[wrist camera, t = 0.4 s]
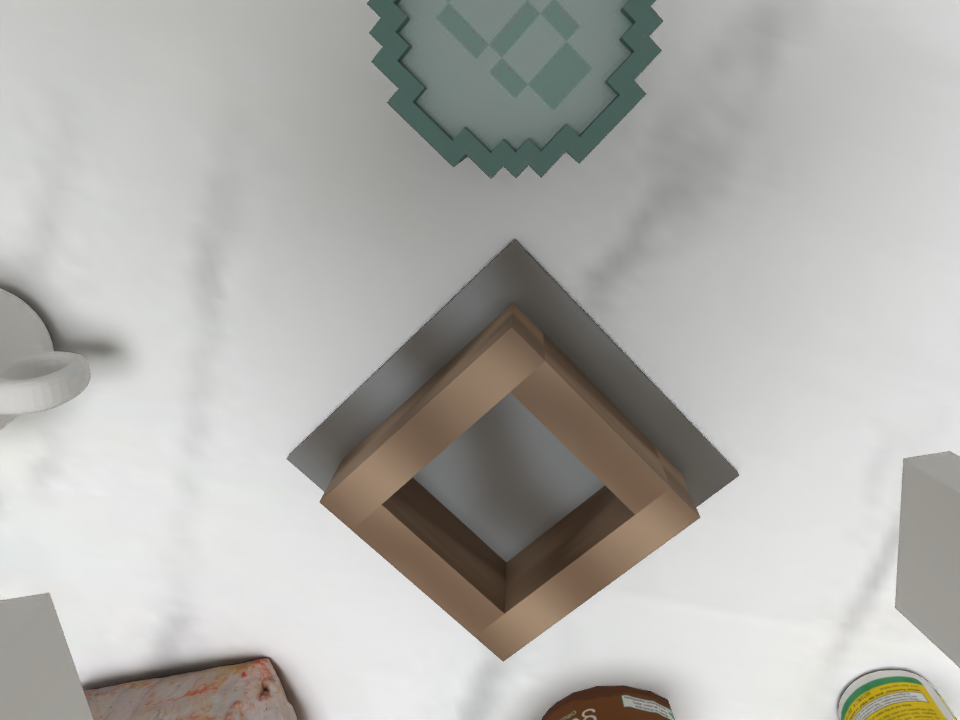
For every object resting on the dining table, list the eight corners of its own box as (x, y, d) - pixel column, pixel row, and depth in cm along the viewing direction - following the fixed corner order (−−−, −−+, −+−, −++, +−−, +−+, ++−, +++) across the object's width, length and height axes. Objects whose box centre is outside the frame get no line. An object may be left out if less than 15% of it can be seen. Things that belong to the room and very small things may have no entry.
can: (520, 175, 30) (517, 228, 16) (417, 73, 29) (317, 35, 15) (623, 65, 29) (718, 18, 15) (518, -48, 28) (511, -218, 14)
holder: (514, 239, 31) (513, 257, 27) (737, 471, 35) (765, 520, 30) (289, 454, 36) (258, 499, 32) (504, 643, 39) (502, 706, 35)
